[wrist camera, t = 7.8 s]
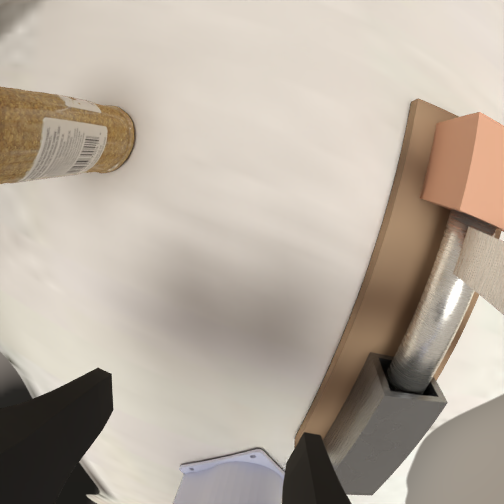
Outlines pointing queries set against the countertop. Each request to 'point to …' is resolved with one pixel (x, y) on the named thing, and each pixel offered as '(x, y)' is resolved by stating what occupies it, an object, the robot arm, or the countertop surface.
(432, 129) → the walnut board
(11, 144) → the sprinkles bottle
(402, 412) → the sleeve
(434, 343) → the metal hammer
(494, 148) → the socket
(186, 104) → the countertop surface
